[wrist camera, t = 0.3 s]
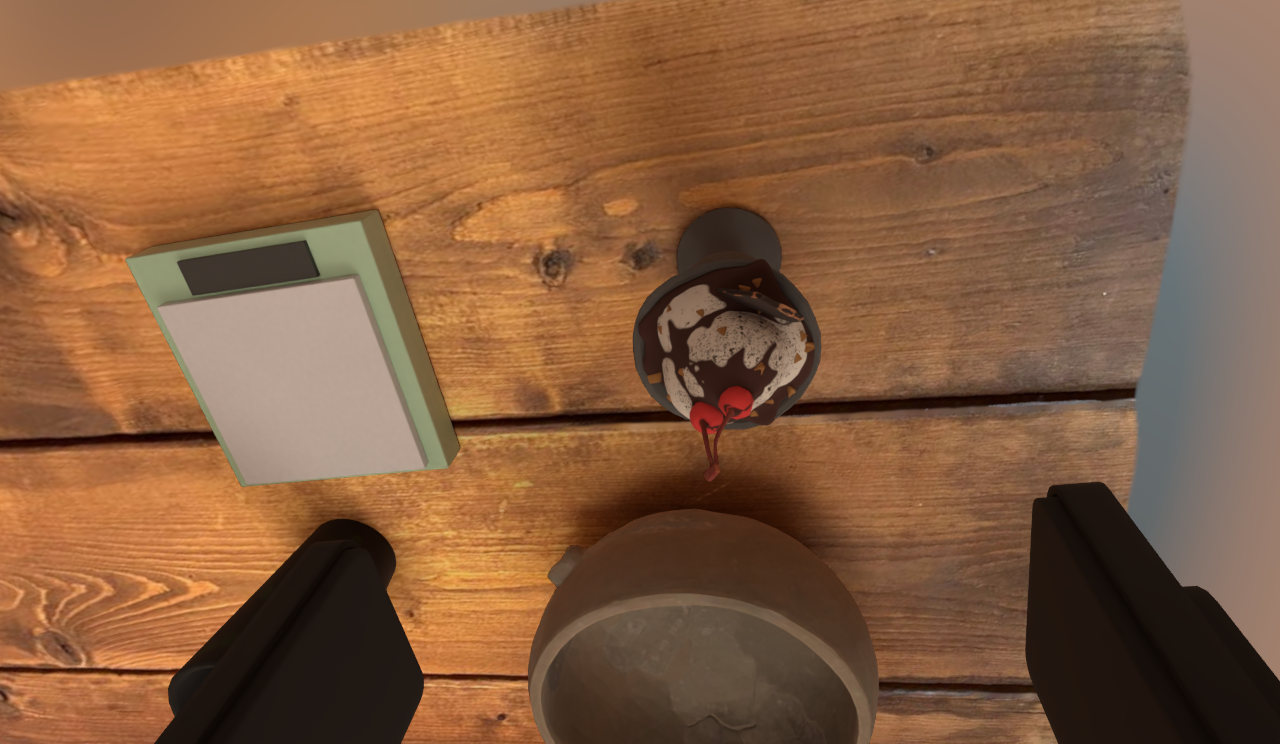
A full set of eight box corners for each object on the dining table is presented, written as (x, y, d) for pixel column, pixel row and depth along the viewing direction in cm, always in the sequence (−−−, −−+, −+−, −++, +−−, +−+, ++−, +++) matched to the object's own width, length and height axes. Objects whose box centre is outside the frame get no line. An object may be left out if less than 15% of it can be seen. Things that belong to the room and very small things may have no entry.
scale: (151, 246, 38) (114, 262, 36) (378, 208, 36) (354, 223, 34) (260, 467, 45) (235, 493, 42) (461, 448, 42) (445, 474, 40)
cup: (276, 511, 46) (138, 667, 35) (386, 499, 45) (277, 658, 34) (324, 602, 49) (210, 770, 39) (428, 595, 48) (340, 767, 37)
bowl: (507, 530, 45) (450, 664, 36) (775, 415, 39) (786, 541, 30) (652, 710, 50) (633, 863, 42) (904, 634, 45) (944, 793, 36)
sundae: (694, 343, 37) (671, 537, 24) (636, 224, 35) (574, 368, 22) (820, 294, 35) (869, 476, 22) (768, 164, 33) (788, 283, 20)
